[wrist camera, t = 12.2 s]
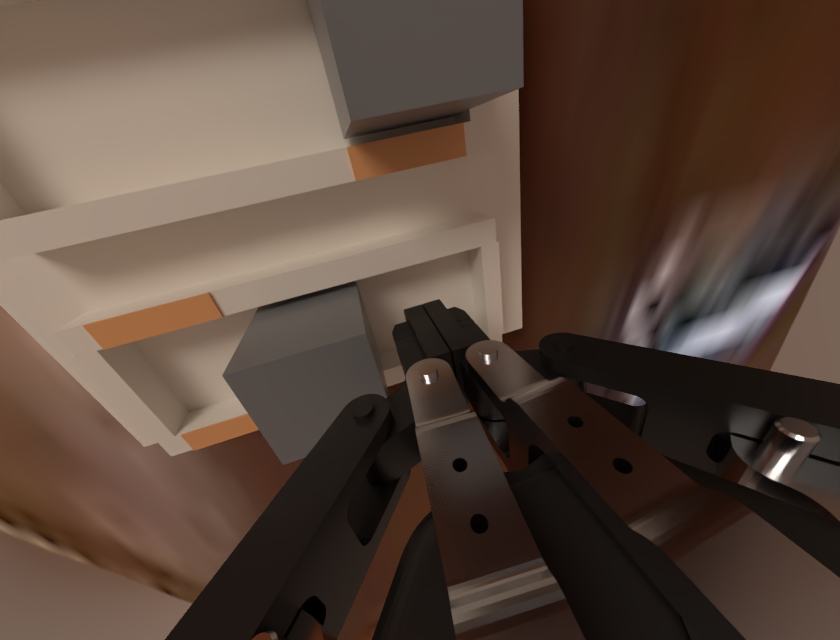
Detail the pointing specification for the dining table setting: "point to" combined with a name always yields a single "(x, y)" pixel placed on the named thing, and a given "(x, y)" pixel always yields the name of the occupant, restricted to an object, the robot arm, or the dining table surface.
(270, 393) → the tab
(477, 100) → the tab
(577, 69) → the dining table surface
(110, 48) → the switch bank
